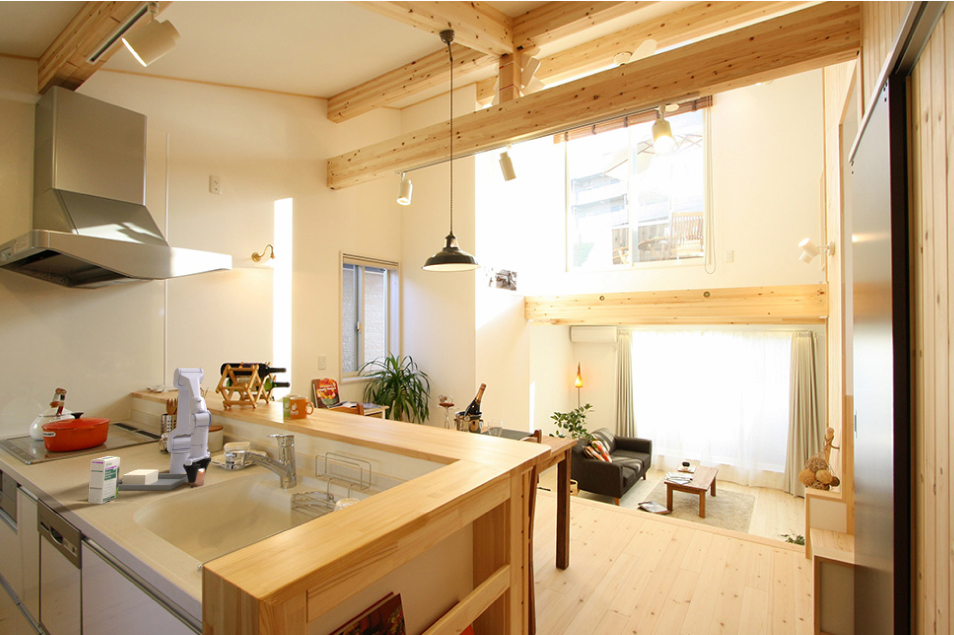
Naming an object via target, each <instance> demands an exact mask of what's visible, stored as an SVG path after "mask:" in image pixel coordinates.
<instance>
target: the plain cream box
mask: <svg viewBox="0 0 954 635" xmlns="http://www.w3.org/2000/svg"><path fill="white" fill-rule="evenodd" d="M158 473H159V469H135V470H131V471H130V472H127V473H125V474H122V479H121V480H122V484H143V485H149V484H152V483H154V482H156V481H158Z"/></svg>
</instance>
